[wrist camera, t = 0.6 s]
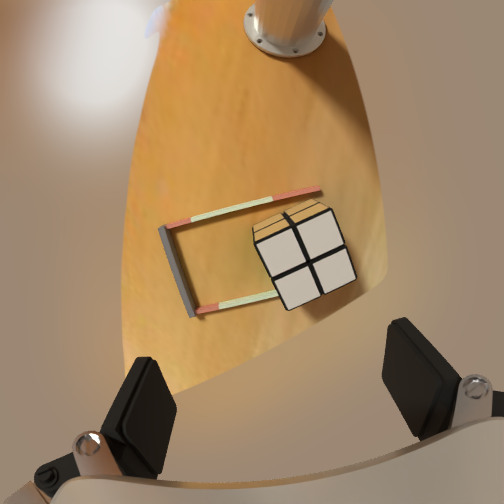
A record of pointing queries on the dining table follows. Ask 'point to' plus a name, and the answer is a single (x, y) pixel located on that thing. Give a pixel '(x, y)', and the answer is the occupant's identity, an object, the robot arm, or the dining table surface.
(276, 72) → the dining table surface
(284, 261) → the puzzle cube
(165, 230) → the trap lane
